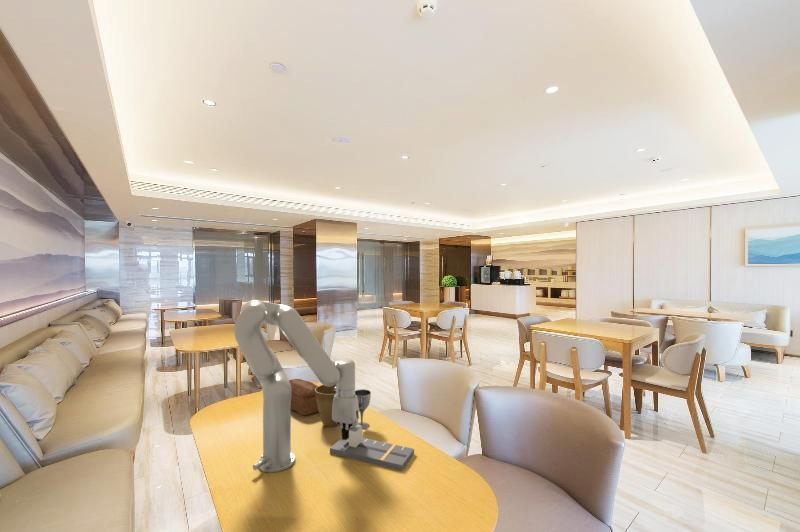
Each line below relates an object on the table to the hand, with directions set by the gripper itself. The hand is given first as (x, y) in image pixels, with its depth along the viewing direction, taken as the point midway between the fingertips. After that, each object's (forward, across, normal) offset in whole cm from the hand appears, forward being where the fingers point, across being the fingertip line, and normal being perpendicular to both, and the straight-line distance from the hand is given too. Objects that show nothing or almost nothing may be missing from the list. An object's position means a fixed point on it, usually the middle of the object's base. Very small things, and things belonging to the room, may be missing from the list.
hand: (345, 438), depth 138 cm
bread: (+4, -42, +26) cm, 50 cm away
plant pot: (+4, -17, +16) cm, 24 cm away
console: (+4, +12, 0) cm, 12 cm away
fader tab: (+1, +4, 0) cm, 5 cm away
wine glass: (+4, -3, +19) cm, 20 cm away
